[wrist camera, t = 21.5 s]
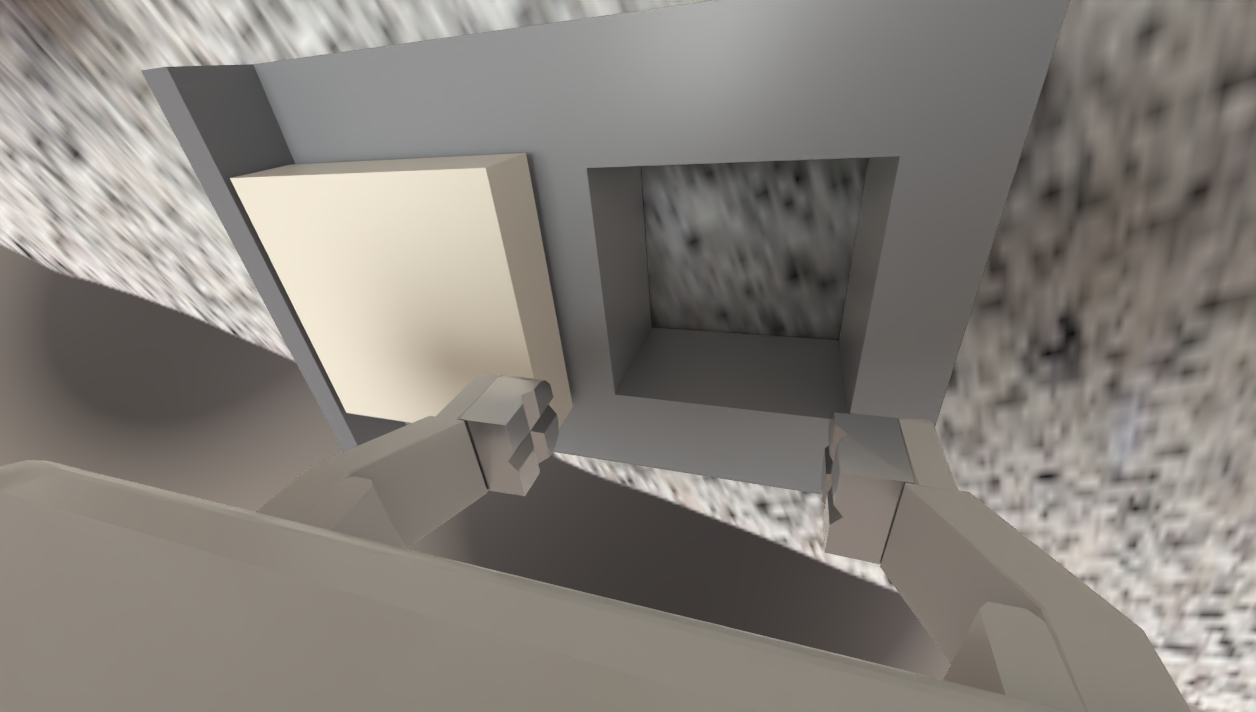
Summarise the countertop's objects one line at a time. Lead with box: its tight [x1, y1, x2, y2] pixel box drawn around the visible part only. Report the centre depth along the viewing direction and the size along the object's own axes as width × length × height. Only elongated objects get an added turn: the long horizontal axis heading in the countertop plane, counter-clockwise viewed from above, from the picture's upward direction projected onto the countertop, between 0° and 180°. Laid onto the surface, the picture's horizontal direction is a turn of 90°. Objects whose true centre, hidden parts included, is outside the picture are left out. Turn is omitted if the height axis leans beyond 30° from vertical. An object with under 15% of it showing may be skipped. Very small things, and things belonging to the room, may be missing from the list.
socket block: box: [142, 0, 1070, 494], centre depth 16 cm, size 21×14×7 cm, turn 95°
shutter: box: [230, 153, 573, 428], centre depth 15 cm, size 8×8×2 cm
